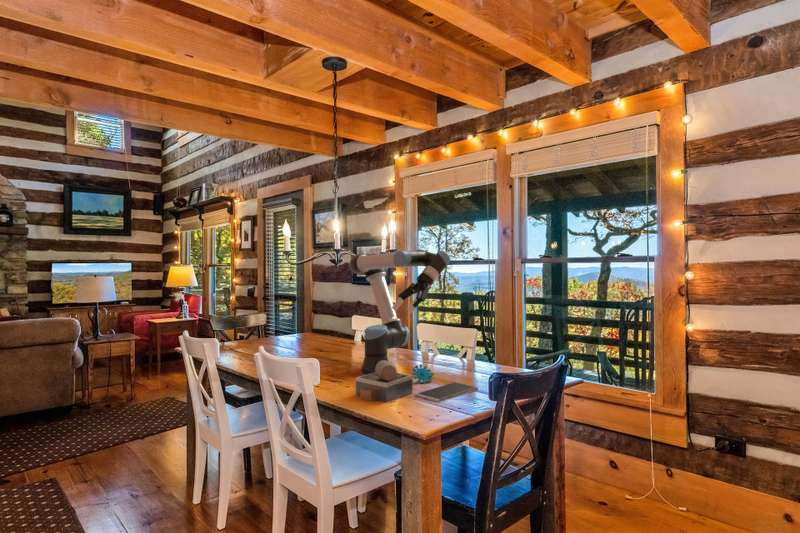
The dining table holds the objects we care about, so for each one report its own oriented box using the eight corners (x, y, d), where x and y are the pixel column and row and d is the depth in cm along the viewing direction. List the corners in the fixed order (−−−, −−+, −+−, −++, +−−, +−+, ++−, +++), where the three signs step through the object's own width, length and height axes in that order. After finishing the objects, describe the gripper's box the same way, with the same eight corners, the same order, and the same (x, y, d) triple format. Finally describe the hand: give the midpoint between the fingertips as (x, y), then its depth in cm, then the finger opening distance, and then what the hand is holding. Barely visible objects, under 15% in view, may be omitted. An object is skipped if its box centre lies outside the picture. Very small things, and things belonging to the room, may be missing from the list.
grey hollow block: (350, 396, 197) (350, 378, 197) (382, 386, 212) (382, 370, 212) (381, 404, 186) (381, 385, 186) (412, 393, 201) (412, 375, 201)
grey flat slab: (414, 397, 197) (414, 393, 197) (455, 385, 216) (455, 381, 216) (438, 404, 187) (438, 400, 187) (479, 390, 206) (478, 386, 206)
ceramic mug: (381, 382, 195) (381, 364, 195) (374, 378, 203) (374, 360, 203) (404, 380, 199) (405, 362, 199) (397, 376, 207) (397, 358, 207)
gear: (414, 381, 215) (411, 362, 222) (410, 388, 219) (407, 369, 226) (436, 382, 218) (433, 364, 225) (432, 389, 222) (429, 371, 229)
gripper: (447, 283, 216) (420, 318, 209) (418, 282, 238) (392, 313, 230) (438, 272, 214) (410, 307, 206) (409, 271, 235) (383, 303, 228)
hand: (400, 310), depth 218 cm, fingers open, 13 cm apart
